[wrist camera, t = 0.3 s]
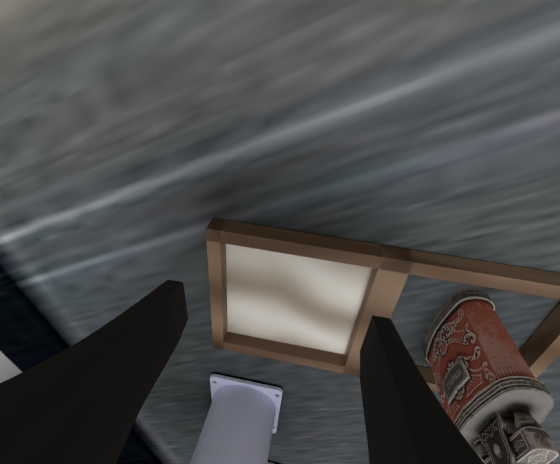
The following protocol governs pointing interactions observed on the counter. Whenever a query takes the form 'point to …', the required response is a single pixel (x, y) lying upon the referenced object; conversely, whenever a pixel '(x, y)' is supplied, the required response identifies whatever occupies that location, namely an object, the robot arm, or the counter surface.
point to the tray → (338, 294)
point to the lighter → (487, 383)
